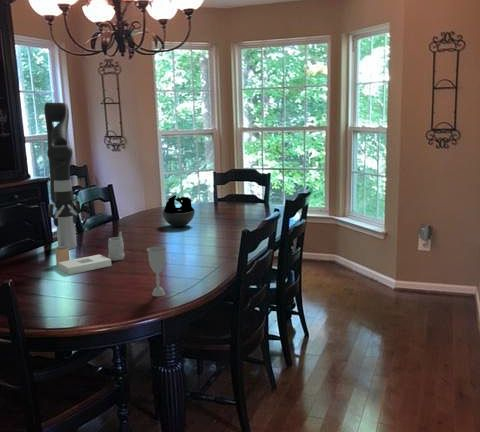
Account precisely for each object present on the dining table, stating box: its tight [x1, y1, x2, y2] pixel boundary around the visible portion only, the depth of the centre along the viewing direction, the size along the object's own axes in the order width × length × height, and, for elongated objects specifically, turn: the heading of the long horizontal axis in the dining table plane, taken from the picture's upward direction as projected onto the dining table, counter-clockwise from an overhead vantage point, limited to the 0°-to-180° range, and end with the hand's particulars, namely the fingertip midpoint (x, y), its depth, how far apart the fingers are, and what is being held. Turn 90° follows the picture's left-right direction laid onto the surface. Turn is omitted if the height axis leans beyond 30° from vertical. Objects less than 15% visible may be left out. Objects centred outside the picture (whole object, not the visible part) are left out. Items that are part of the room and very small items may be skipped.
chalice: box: [146, 246, 167, 297], centre depth 196 cm, size 7×7×18 cm
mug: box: [107, 231, 126, 262], centre depth 249 cm, size 8×12×12 cm, turn 169°
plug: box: [54, 246, 71, 267], centre depth 239 cm, size 5×5×9 cm
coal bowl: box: [161, 194, 196, 228], centre depth 316 cm, size 20×20×19 cm
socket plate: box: [58, 254, 112, 275], centre depth 235 cm, size 12×20×3 cm, turn 130°
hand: (65, 224), depth 236 cm, fingers open, 8 cm apart
